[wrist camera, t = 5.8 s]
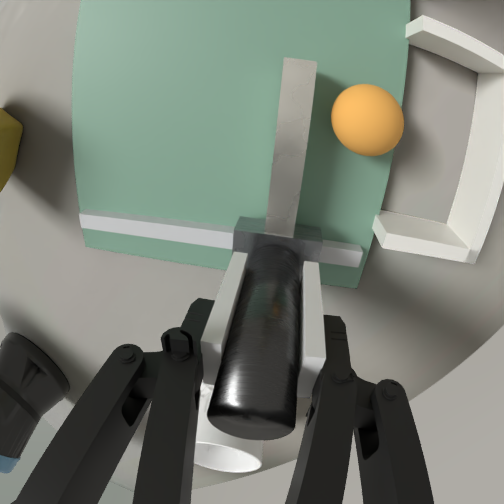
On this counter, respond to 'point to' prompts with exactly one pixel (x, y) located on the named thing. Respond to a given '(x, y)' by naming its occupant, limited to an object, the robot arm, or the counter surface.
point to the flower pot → (8, 145)
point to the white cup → (223, 444)
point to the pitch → (224, 122)
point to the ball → (367, 120)
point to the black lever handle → (271, 284)
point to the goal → (476, 160)
